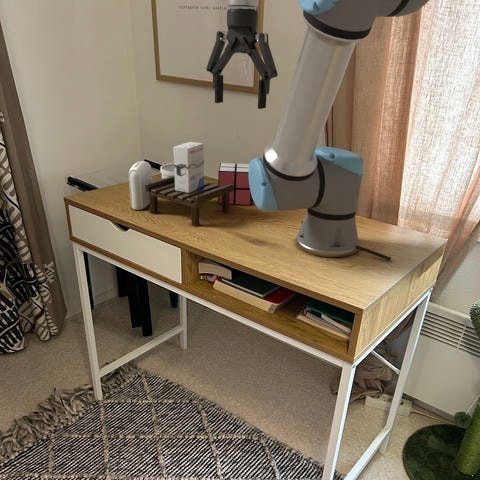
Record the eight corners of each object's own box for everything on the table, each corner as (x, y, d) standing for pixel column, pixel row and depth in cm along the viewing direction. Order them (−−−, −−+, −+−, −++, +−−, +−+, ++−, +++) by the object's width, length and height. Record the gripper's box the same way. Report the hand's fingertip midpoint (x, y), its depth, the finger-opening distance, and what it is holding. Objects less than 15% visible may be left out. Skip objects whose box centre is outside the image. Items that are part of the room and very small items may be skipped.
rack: (232, 212, 141) (233, 184, 136) (197, 227, 129) (197, 197, 125) (183, 199, 149) (183, 172, 145) (147, 212, 138) (145, 183, 134)
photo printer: (141, 199, 148) (138, 157, 142) (155, 200, 148) (152, 158, 141) (129, 209, 139) (125, 166, 133) (143, 211, 139) (140, 167, 132)
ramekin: (174, 181, 166) (173, 160, 162) (208, 186, 162) (208, 165, 158) (153, 191, 156) (152, 169, 152) (189, 197, 151) (189, 174, 148)
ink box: (190, 183, 140) (189, 140, 134) (204, 186, 138) (204, 143, 132) (174, 190, 133) (172, 146, 127) (189, 193, 131) (188, 148, 125)
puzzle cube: (250, 205, 146) (252, 172, 141) (217, 204, 146) (218, 170, 141) (250, 195, 155) (252, 163, 150) (219, 194, 155) (220, 162, 150)
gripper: (296, 10, 112) (288, 109, 123) (210, 8, 123) (210, 99, 134) (279, 8, 106) (273, 112, 117) (192, 6, 118) (193, 101, 129)
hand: (239, 105), depth 126 cm, fingers open, 13 cm apart
